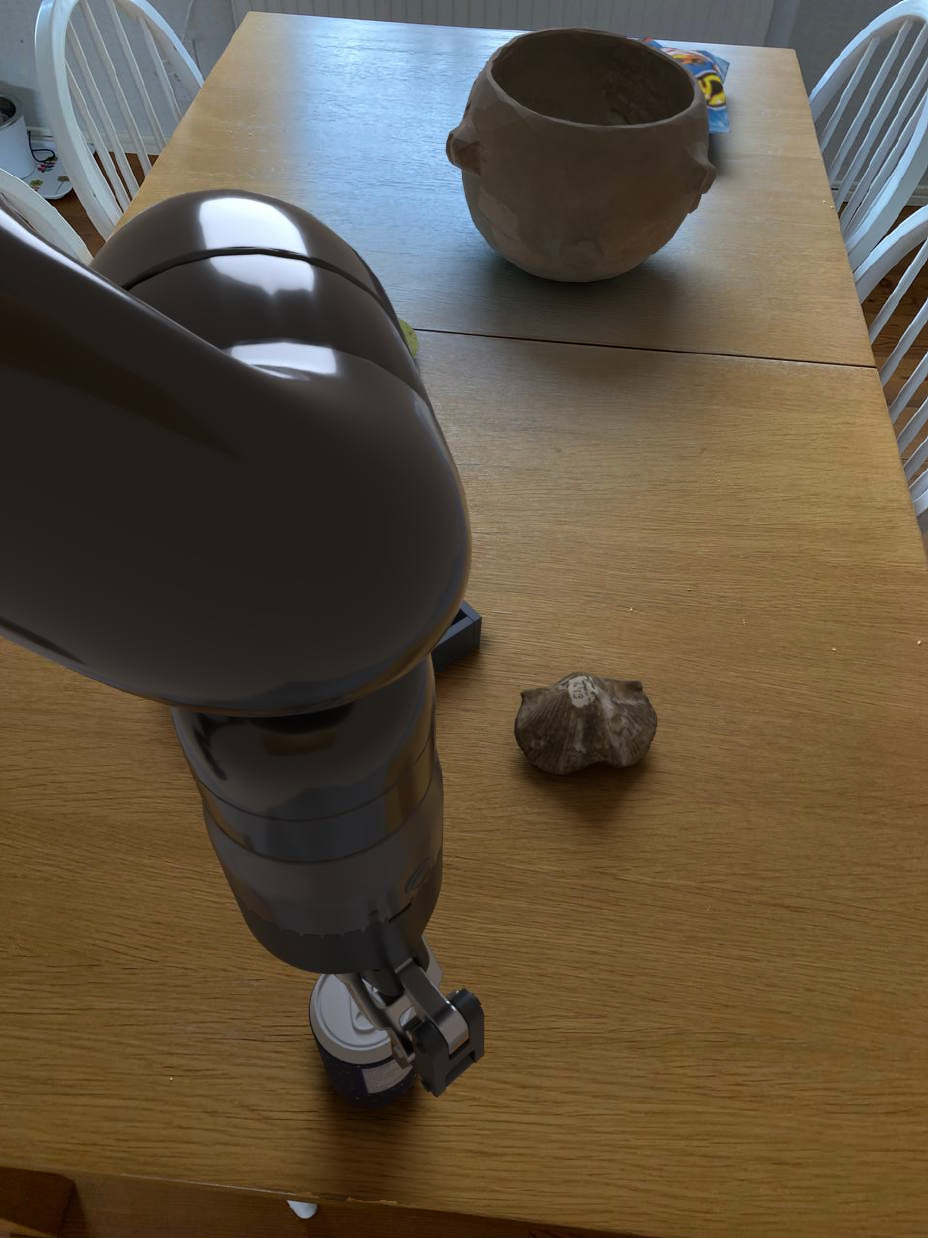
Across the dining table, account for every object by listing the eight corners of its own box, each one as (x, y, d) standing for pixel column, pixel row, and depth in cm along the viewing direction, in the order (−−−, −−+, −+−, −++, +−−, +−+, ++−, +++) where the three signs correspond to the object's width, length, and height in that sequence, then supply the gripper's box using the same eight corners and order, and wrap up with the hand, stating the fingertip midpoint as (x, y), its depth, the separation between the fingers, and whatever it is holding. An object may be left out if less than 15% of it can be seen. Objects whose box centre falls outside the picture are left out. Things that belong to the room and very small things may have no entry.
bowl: (691, 205, 118) (733, 25, 102) (683, 345, 101) (731, 155, 85) (473, 178, 120) (480, -2, 104) (428, 310, 103) (428, 119, 87)
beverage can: (414, 1002, 59) (412, 933, 50) (428, 1102, 56) (428, 1049, 46) (322, 1017, 58) (302, 951, 49) (330, 1119, 55) (310, 1070, 46)
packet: (593, 157, 124) (603, 88, 118) (603, 77, 139) (613, 11, 132) (726, 172, 123) (744, 103, 117) (723, 90, 138) (739, 24, 131)
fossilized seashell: (659, 678, 72) (526, 670, 74) (659, 671, 65) (513, 663, 67) (654, 780, 71) (520, 769, 73) (654, 783, 64) (506, 771, 66)
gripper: (124, 738, 34) (210, 909, 46) (367, 1076, 27) (389, 1166, 40) (303, 630, 37) (337, 818, 50) (560, 911, 30) (522, 1044, 43)
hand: (360, 974), depth 45 cm, fingers open, 8 cm apart
